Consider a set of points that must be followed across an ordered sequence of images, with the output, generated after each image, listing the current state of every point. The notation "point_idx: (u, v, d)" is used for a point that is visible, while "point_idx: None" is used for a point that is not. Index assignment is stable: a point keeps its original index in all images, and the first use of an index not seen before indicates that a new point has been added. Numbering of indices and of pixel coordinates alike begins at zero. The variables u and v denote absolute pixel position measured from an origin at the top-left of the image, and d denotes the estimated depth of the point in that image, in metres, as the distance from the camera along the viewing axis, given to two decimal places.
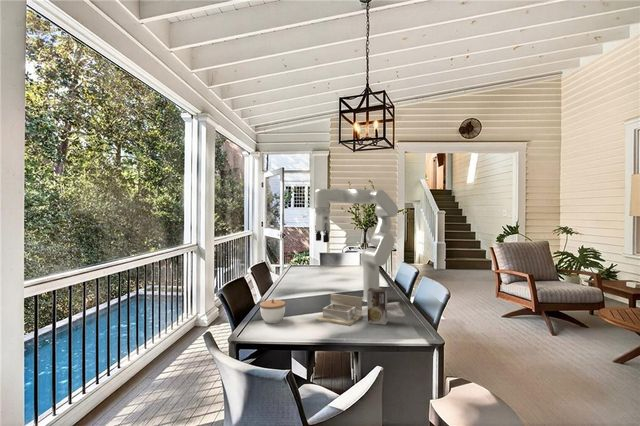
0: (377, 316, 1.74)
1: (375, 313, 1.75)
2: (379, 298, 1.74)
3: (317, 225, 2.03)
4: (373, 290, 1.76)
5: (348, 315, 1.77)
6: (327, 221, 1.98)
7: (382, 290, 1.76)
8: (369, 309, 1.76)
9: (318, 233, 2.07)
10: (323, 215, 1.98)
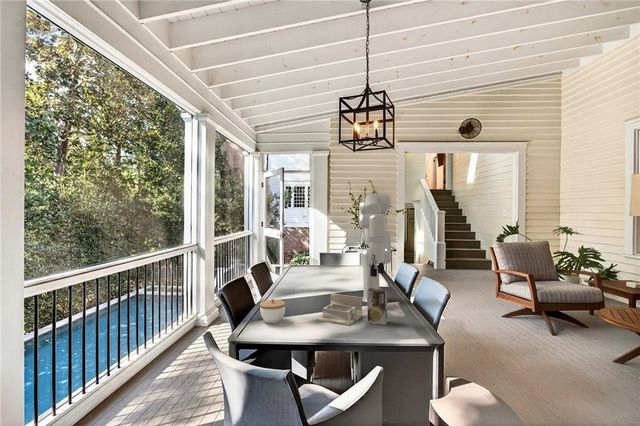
0: (377, 316, 1.74)
1: (375, 313, 1.75)
2: (379, 298, 1.74)
3: (381, 257, 1.74)
4: (373, 290, 1.76)
5: (348, 315, 1.77)
6: None
7: (382, 290, 1.76)
8: (369, 309, 1.76)
9: None
10: None
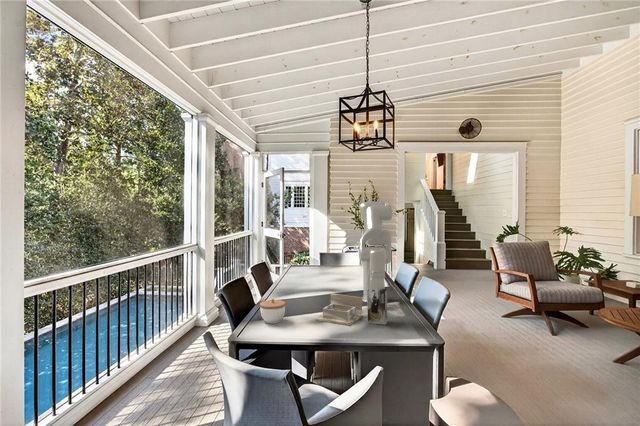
0: (377, 316, 1.74)
1: (375, 313, 1.75)
2: (379, 298, 1.74)
3: None
4: None
5: (348, 315, 1.77)
6: None
7: (382, 290, 1.76)
8: (369, 309, 1.76)
9: None
10: None
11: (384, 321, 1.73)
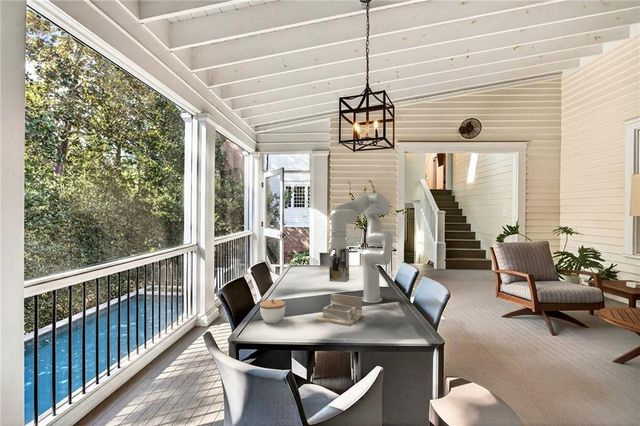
0: (338, 274, 1.80)
1: (336, 271, 1.80)
2: (340, 256, 1.80)
3: None
4: None
5: (348, 315, 1.77)
6: None
7: (343, 249, 1.81)
8: (331, 267, 1.81)
9: None
10: None
11: (345, 279, 1.79)
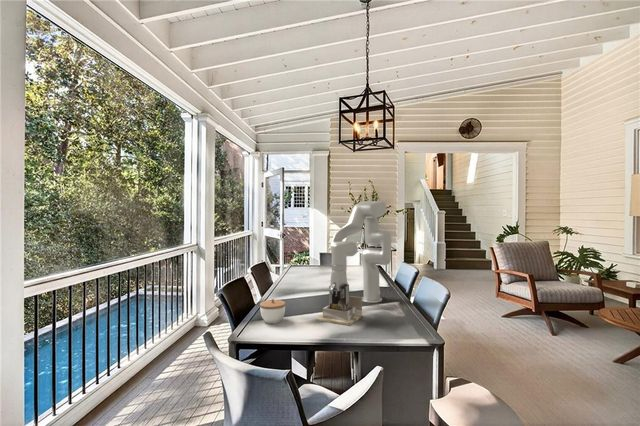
0: (339, 310, 1.81)
1: (337, 307, 1.81)
2: (340, 293, 1.80)
3: (342, 284, 1.81)
4: None
5: (348, 315, 1.77)
6: None
7: (343, 285, 1.82)
8: (331, 304, 1.82)
9: None
10: None
11: None
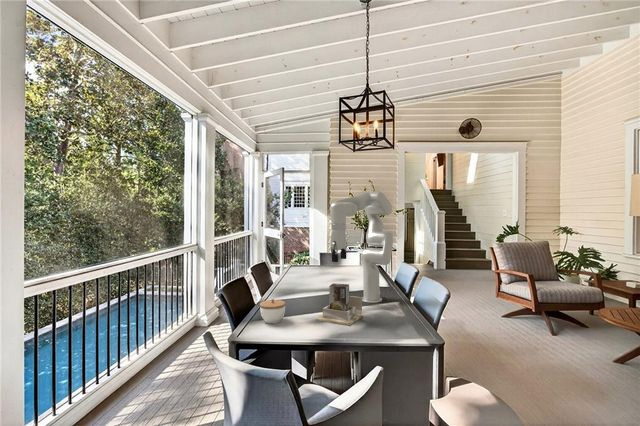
0: (339, 310, 1.81)
1: (337, 307, 1.81)
2: (340, 293, 1.80)
3: (342, 243, 1.83)
4: (335, 285, 1.83)
5: (348, 315, 1.77)
6: None
7: (343, 285, 1.82)
8: (331, 303, 1.82)
9: None
10: None
11: None
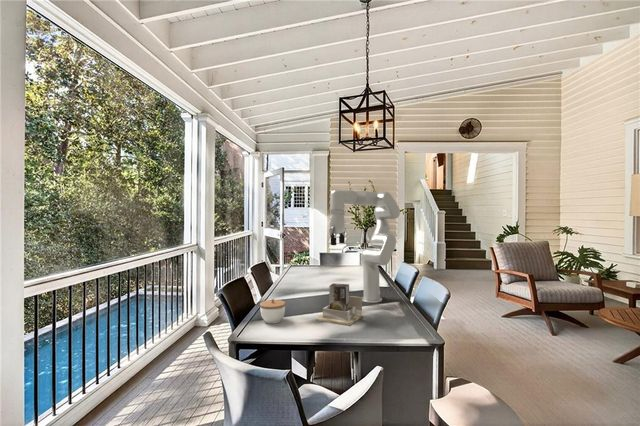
0: (339, 310, 1.81)
1: (337, 307, 1.81)
2: (340, 293, 1.80)
3: (340, 228, 1.94)
4: (335, 285, 1.83)
5: (348, 315, 1.77)
6: None
7: (343, 285, 1.82)
8: (331, 303, 1.82)
9: None
10: None
11: None
